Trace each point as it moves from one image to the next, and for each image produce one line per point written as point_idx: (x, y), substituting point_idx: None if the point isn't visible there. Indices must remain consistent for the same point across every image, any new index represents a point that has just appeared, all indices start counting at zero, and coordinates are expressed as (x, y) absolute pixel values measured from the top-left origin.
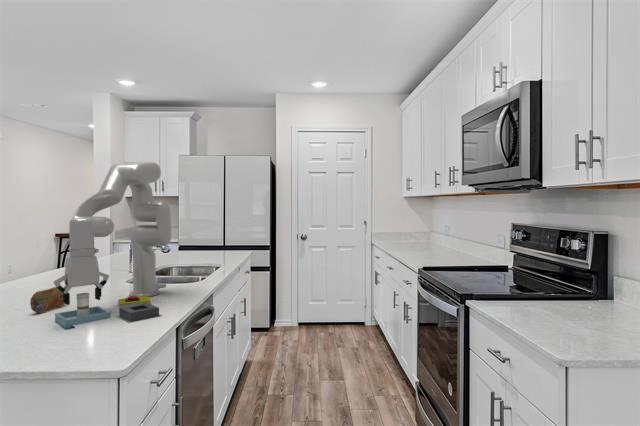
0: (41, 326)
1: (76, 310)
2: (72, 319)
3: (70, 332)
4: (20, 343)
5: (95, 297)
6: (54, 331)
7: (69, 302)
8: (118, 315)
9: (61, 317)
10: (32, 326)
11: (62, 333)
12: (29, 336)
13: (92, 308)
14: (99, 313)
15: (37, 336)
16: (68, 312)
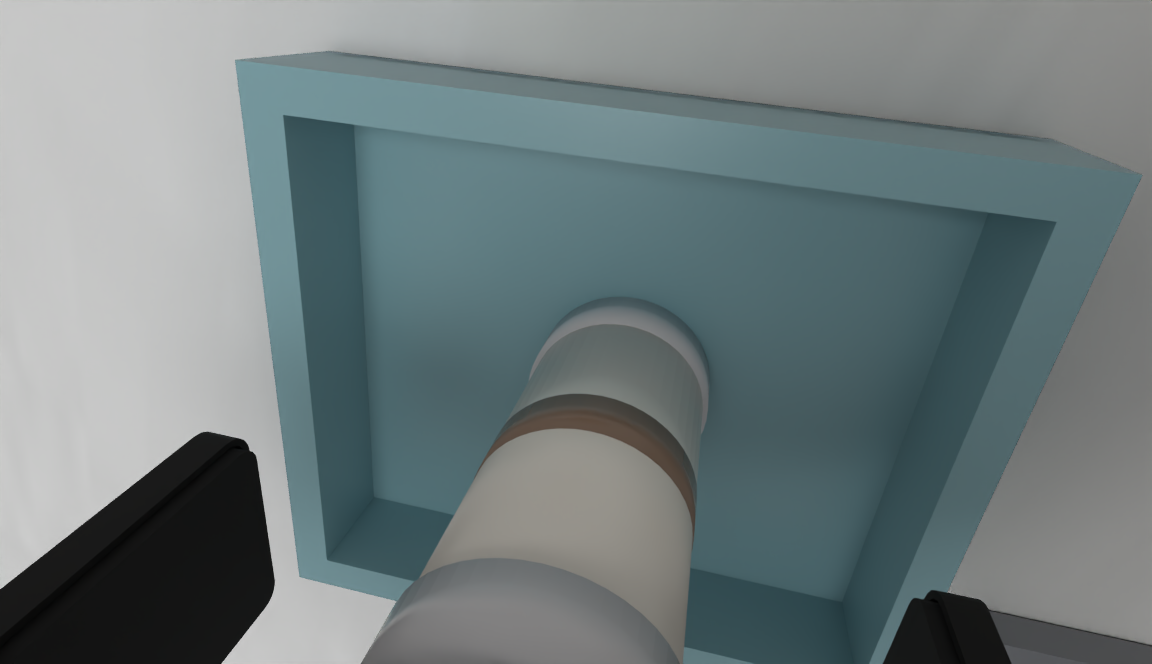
0: (158, 142)
1: (605, 156)
2: (379, 591)
3: (372, 611)
4: (21, 540)
5: (913, 646)
6: (262, 469)
7: (245, 624)
8: (1018, 651)
9: (283, 418)
10: (58, 32)
11: (311, 580)
12: (64, 426)
13: (944, 203)
14: (952, 336)
15: (124, 484)
16: (459, 137)
